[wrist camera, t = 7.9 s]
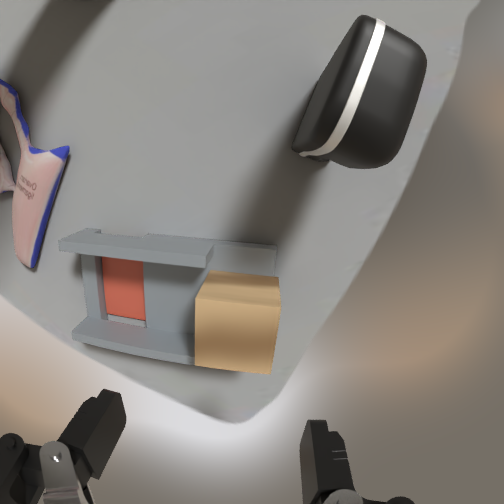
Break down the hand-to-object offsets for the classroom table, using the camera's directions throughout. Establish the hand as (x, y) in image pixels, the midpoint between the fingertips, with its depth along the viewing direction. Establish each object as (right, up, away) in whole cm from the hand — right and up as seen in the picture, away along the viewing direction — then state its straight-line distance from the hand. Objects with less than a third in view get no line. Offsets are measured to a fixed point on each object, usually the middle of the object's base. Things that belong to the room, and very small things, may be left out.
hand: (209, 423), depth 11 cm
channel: (-5, +4, +13) cm, 15 cm away
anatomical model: (-24, +17, +11) cm, 32 cm away
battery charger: (+7, +17, +9) cm, 20 cm away
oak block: (+1, +3, +12) cm, 12 cm away
